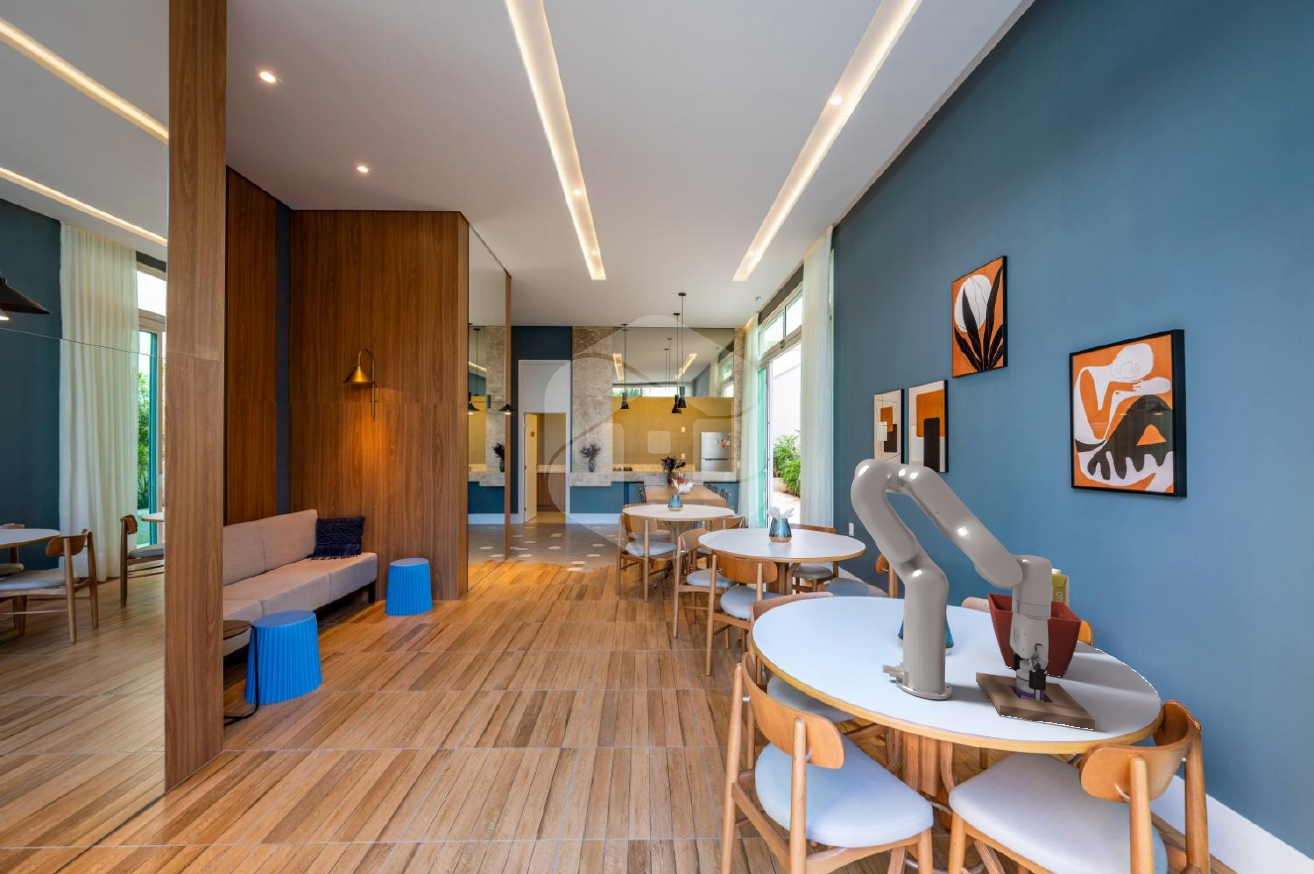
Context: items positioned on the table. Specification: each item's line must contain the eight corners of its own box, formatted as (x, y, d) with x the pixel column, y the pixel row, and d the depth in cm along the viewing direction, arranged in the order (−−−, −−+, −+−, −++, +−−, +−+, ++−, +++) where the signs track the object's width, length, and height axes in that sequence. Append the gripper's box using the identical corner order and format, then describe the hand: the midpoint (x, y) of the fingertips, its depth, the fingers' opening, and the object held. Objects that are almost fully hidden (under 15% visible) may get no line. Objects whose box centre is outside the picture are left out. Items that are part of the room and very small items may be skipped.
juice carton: (1073, 652, 155) (1074, 573, 155) (1044, 650, 156) (1045, 571, 157) (1054, 641, 164) (1055, 566, 165) (1027, 638, 165) (1028, 564, 166)
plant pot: (993, 670, 141) (994, 608, 141) (986, 646, 158) (987, 592, 158) (1081, 687, 132) (1082, 621, 132) (1064, 660, 149) (1064, 602, 149)
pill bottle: (1031, 698, 125) (1032, 658, 125) (1049, 710, 119) (1050, 668, 119) (1010, 698, 124) (1010, 658, 125) (1026, 709, 119) (1027, 667, 119)
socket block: (999, 716, 116) (999, 704, 116) (976, 681, 133) (976, 672, 133) (1095, 731, 110) (1095, 719, 110) (1058, 693, 128) (1058, 683, 128)
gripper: (1000, 596, 132) (998, 663, 131) (1026, 617, 115) (1024, 693, 115) (1034, 600, 129) (1032, 668, 129) (1066, 622, 113) (1064, 700, 113)
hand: (1028, 680), depth 122 cm, fingers open, 9 cm apart
